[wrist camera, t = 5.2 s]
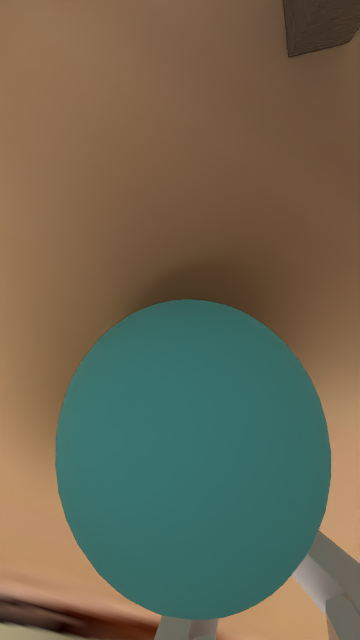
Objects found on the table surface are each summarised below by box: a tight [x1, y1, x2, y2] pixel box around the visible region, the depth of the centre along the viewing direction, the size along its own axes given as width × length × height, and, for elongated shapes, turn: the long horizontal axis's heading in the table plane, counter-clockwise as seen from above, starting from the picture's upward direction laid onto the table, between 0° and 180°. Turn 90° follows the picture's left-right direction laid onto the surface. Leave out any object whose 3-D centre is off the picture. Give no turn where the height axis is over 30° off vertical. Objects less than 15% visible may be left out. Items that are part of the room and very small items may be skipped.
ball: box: [55, 299, 331, 620], centre depth 5 cm, size 6×6×6 cm
